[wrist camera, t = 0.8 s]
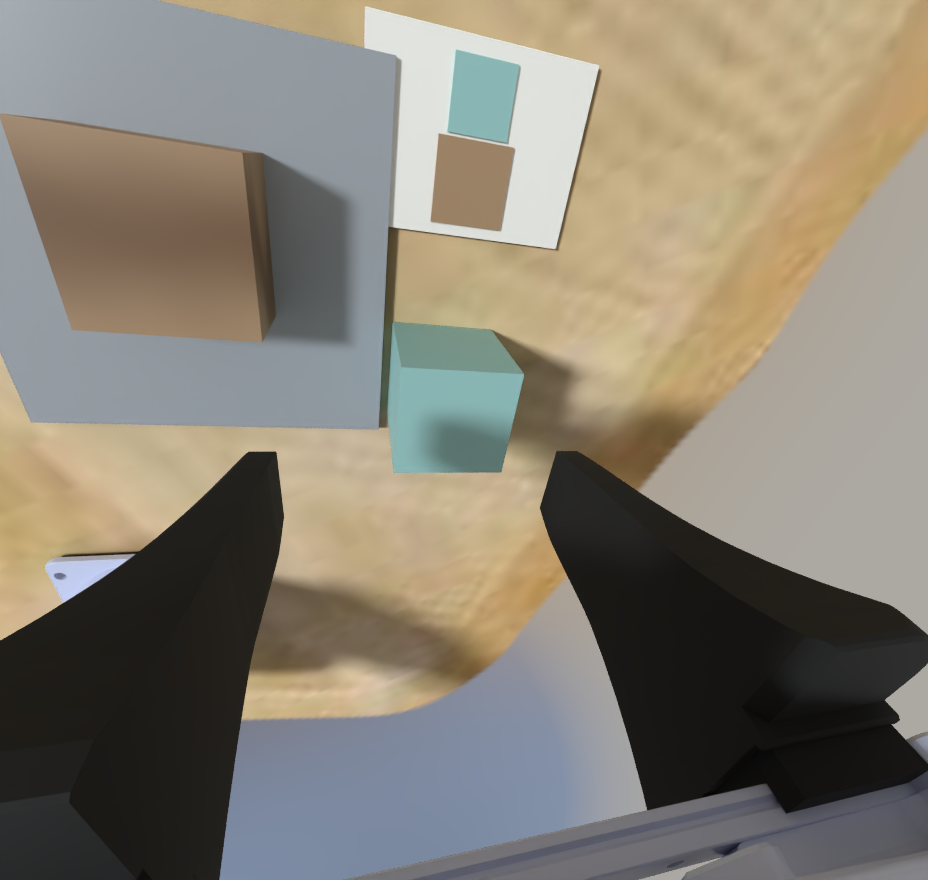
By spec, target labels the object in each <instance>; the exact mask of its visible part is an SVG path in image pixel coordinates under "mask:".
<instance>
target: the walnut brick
mask: <svg viewBox="0 0 928 880" xmlns="http://www.w3.org/2000/svg"><path fill="white" fill-rule="evenodd" d="M0 120H1V123H2V126H3V129H4V132H5V135H6V138H7V141H8V143H9V146H10V149H11V152H12V155H13V158H14V161H15V164H16V167H17V170H18V173H19V176H20V179H21V182H22V185H23V188H24V190H25V193H26V196H27V199H28V202H29V205H30V208H31V211H32V214H33V217H34V220H35V223H36V226H37V229H38V232H39V234H40V237H41V240H42V243H43V246H44V249H45V252H46V255H47V258H48V261H49V264H50V267H51V270H52V273H53V276H54V279H55V281H56V284H57V287H58V290H59V293H60V296H61V299H62V302H63V305H64V308H65V311H66V314H67V317H68V320H69V323H70V326H71V328H72V330H77V331H92V332H108V333H123V334H139V335H154V336H170V337H185V338H200V339H216V340H231V341H247V342H263V340H264V338H265V336H266V334H267V332H268V330H269V328H270V327H271V325H272V323H273V321H274V319H275V317H276V308H275V297H274V285H273V273H272V261H271V249H270V237H269V226H268V214H267V202H266V190H265V178H264V166H263V155H262V153H260V152H254V151H248V150H242V149H236V148H230V147H223V146H217V145H211V144H205V143H199V142H193V141H187V140H181V139H174V138H168V137H162V136H156V135H150V134H144V133H138V132H132V131H126V130H119V129H113V128H107V127H101V126H95V125H89V124H83V123H77V122H70V121H64V120H54V119H45V118H36V117H27V116H18V115H9V114H0Z"/></svg>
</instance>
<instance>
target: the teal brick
mask: <svg viewBox="0 0 928 880" xmlns="http://www.w3.org/2000/svg"><path fill="white" fill-rule="evenodd" d="M523 378H524V373H523V372H522V370H521V369H520V368H519V366H518V365H517V364H516V362H515V361H514V360H513V358H512V357H511V356H510V354H509V353H508V352H507V350H506V349H505V348H504V346H503V345H502V344H501V342H500V341H499V340H498V338H497V337H496V336H495V334H494V333H493V331H492V330H489V329H476V328H464V327H452V326H440V325H427V324H415V323H403V322H393V325H392V342H391V359H390V375H389V392H388V409H387V413H388V423H389V433H390V443H391V452H392V462H393V472H394V473H453V472H501V471H502V467H503V463H504V458H505V454H506V450H507V446H508V442H509V437H510V433H511V429H512V425H513V420H514V416H515V412H516V408H517V403H518V399H519V395H520V391H521V387H522V382H523Z"/></svg>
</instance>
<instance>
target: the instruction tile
mask: <svg viewBox="0 0 928 880" xmlns="http://www.w3.org/2000/svg"><path fill="white" fill-rule="evenodd" d="M364 48H367V49H371V50H375V51H380V52H384V53H388V54H393V55H396V76H395V97H394V118H393V139H392V160H391V181H390V202H389V222H388V227H394V228H401V229H409V230H416V231H424V232H431V233H439V234H446V235H454V236H461V237H469V238H476V239H484V240H491V241H499V242H506V243H514V244H521V245H529V246H536V247H543V248H551V249H556V245H557V241H558V237H559V233H560V229H561V224H562V220H563V216H564V212H565V208H566V203H567V199H568V195H569V191H570V187H571V182H572V178H573V174H574V170H575V166H576V161H577V157H578V153H579V149H580V145H581V141H582V136H583V132H584V128H585V124H586V120H587V115H588V111H589V107H590V103H591V99H592V94H593V90H594V86H595V82H596V78H597V73H598V69H599V65H595V64H591V63H587V62H584V61H580V60H576V59H572V58H568V57H564V56H560V55H556V54H552V53H548V52H544V51H540V50H536V49H532V48H528V47H524V46H520V45H516V44H512V43H509V42H505V41H501V40H497V39H493V38H489V37H485V36H481V35H477V34H473V33H469V32H465V31H461V30H457V29H453V28H449V27H445V26H441V25H437V24H433V23H430V22H426V21H422V20H418V19H414V18H410V17H406V16H402V15H398V14H394V13H390V12H386V11H382V10H378V9H374V8H370V7H366V6H365V35H364Z"/></svg>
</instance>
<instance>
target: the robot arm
mask: <svg viewBox="0 0 928 880" xmlns="http://www.w3.org/2000/svg"><path fill="white" fill-rule="evenodd" d="M540 510H541V513H542V516H543V520H544V523H545V526H546V529H547V532H548V535H549V538H550V541H551V543H552V545H553V547H554V549H555V551H556V553H557V555H558V558H559V560H560V562H561V564H562V566H563V568H564V570H565V572H566V574H567V576H568V578H569V580H570V582H571V584H572V586H573V588H574V590H575V592H576V594H577V596H578V598H579V600H580V602H581V604H582V606H583V608H584V611H585V613H586V615H587V617H588V620H589V622H590V624H591V627H592V630H593V632H594V635H595V638H596V640H597V643H598V646H599V649H600V651H601V654H602V656H603V659H604V662H605V665H606V668H607V671H608V674H609V677H610V680H611V683H612V686H613V689H614V692H615V695H616V698H617V701H618V705H619V708H620V711H621V715H622V718H623V722H624V725H625V728H626V731H627V735H628V738H629V741H630V745H631V749H632V752H633V756H634V760H635V764H636V768H637V771H638V775H639V779H640V783H641V786H642V790H643V794H644V799H645V803H646V807H647V811H643V812H639V813H634V814H630V815H625V816H621V817H617V818H612V819H608V820H603V821H599V822H595V823H590V824H586V825H582V826H578V827H573V828H568V829H564V830H560V831H555V832H551V833H546V834H542V835H538V836H533V837H529V838H524V839H521V840H516V841H512V842H507V843H503V844H498V845H494V846H489V847H485V848H481V849H476V850H472V851H468V852H463V853H459V854H454V855H450V856H446V857H442V858H437V859H433V860H428V861H424V862H419V863H415V864H411V865H406V866H402V867H398V868H393V869H389V870H384V871H380V872H376V873H371V874H367V875H362V876H358V877H354V878H349V879H345V880H639V879H642V878H646V877H650V876H654V875H657V874H661V873H665V872H668V871H672V870H676V869H679V868H683V867H687V866H690V865H694V864H698V863H702V862H705V861H709V860H712V859H716V858H720V857H722V858H720V859H718V860H716V861H713V862H711V863H708V864H706V865H703V866H701V867H699V868H696V869H694V870H691V871H689V872H687V873H686V874H685V876H684V877H683V879H682V880H928V732H924V733H921V734H918V735H915V736H913V737H911V738H909V739H907V740H905V739H904V738H903V737H902V735H901V734H900V733H899V732H898V731H897V730H896V729H895V728H894V727H893V726H892V725H891V724H895V723H897V722H898V721H899V720H900V719H899V715H898V714H897V713H896V712H895V711H894V710H893V709H892V708H891V707H890V706H889V705H888V703H887V702H886V701H885V699H886V698H887V697H889V696H890V695H891V694H892V693H894V692H895V691H896V690H897V689H899V688H900V687H901V686H902V685H904V684H905V683H906V682H907V681H908V680H910V679H911V678H912V677H913V676H915V675H916V674H917V673H918V672H919V671H920V670H921V669H922V668H923V667H925V666H926V664H927V663H928V635H927V634H926V633H925V632H924V631H923V630H921V629H920V628H919V627H918V626H917V625H916V624H914V623H913V622H912V621H911V620H910V619H908V618H907V617H906V616H905V615H904V614H902V613H901V612H900V611H898V610H897V609H895V608H894V607H892V606H891V605H888V604H885V603H882V602H879V601H876V600H873V599H870V598H867V597H863V596H861V595H857V594H854V593H851V592H848V591H845V590H842V589H839V588H836V587H833V586H830V585H827V584H824V583H821V582H819V581H816V580H813V579H811V578H808V577H805V576H803V575H800V574H797V573H795V572H792V571H790V570H787V569H784V568H782V567H780V566H777V565H775V564H772V563H770V562H767V561H765V560H763V559H761V558H759V557H756V556H754V555H752V554H750V553H747V552H745V551H743V550H741V549H738V548H736V547H734V546H732V545H730V544H728V543H726V542H724V541H721V540H720V539H718V538H716V537H714V536H712V535H710V534H708V533H707V532H705V531H703V530H701V529H699V528H697V527H695V526H693V525H692V524H690V523H688V522H686V521H685V520H683V519H681V518H679V517H678V516H676V515H674V514H672V513H671V512H669V511H668V510H666V509H665V508H663V507H661V506H660V505H658V504H656V503H655V502H653V501H652V500H650V499H649V498H647V497H646V496H644V495H642V494H641V493H640V492H638V491H637V490H635V489H634V488H632V487H631V486H629V485H628V484H626V483H625V482H623V481H622V480H620V479H619V478H617V477H616V476H615V475H613V474H612V473H610V472H609V471H607V470H606V469H604V468H603V467H601V466H600V465H598V464H597V463H595V462H594V461H592V460H591V459H589V458H588V457H586V456H584V455H583V454H581V453H579V452H577V451H557V452H556V455H555V459H554V462H553V465H552V469H551V472H550V475H549V479H548V482H547V485H546V489H545V492H544V496H543V499H542V502H541V506H540ZM283 520H284V513H283V504H282V496H281V487H280V479H279V470H278V461H277V453H276V452H248V453H246V454H245V455H244V456H243V457H242V458H241V459H240V460H239V461H238V462H237V463H236V464H235V465H234V466H233V467H232V468H231V469H230V470H229V471H228V472H227V473H226V474H225V475H224V476H223V477H222V478H221V479H220V480H219V481H218V482H217V483H216V484H215V485H214V486H213V487H212V488H211V489H210V490H209V491H208V492H207V493H206V494H205V495H204V496H203V497H202V498H201V499H200V500H199V501H198V502H197V503H196V504H195V505H193V506H192V507H191V508H190V509H189V510H188V511H187V512H186V513H185V514H184V515H182V516H181V517H180V518H179V519H178V520H177V521H176V522H174V523H173V524H172V525H171V526H170V527H169V528H167V529H166V530H165V531H164V532H163V533H162V534H160V535H159V536H158V537H157V538H156V539H154V540H153V541H152V542H151V543H149V544H148V545H147V546H146V547H144V548H143V549H142V550H140V551H139V552H138V553H137V554H125V555H101V556H78V557H57V558H52V559H50V560H49V562H48V563H47V564H46V566H45V570H46V571H47V573H48V575H49V577H50V579H51V581H52V583H53V585H54V586H55V588H56V590H57V592H58V594H59V596H60V598H61V600H62V602H63V604H61V605H59V606H58V607H56V608H55V609H53V610H52V611H50V612H48V613H47V614H45V615H44V616H42V617H40V618H39V619H37V620H35V621H33V622H32V623H30V624H28V625H27V626H25V627H23V628H21V629H20V630H18V631H16V632H14V633H13V634H11V635H9V636H8V637H6V638H4V639H2V640H0V880H219V877H220V869H221V861H222V853H223V846H224V838H225V830H226V822H227V813H228V807H229V799H230V792H231V784H232V778H233V771H234V763H235V757H236V750H237V743H238V736H239V730H240V724H241V718H242V711H243V705H244V699H245V693H246V687H247V681H248V675H249V669H250V663H251V658H252V654H253V649H254V645H255V641H256V637H257V633H258V630H259V626H260V622H261V619H262V615H263V611H264V608H265V604H266V600H267V597H268V593H269V589H270V586H271V582H272V578H273V574H274V571H275V567H276V563H277V559H278V555H279V550H280V543H281V536H282V528H283Z"/></svg>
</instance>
